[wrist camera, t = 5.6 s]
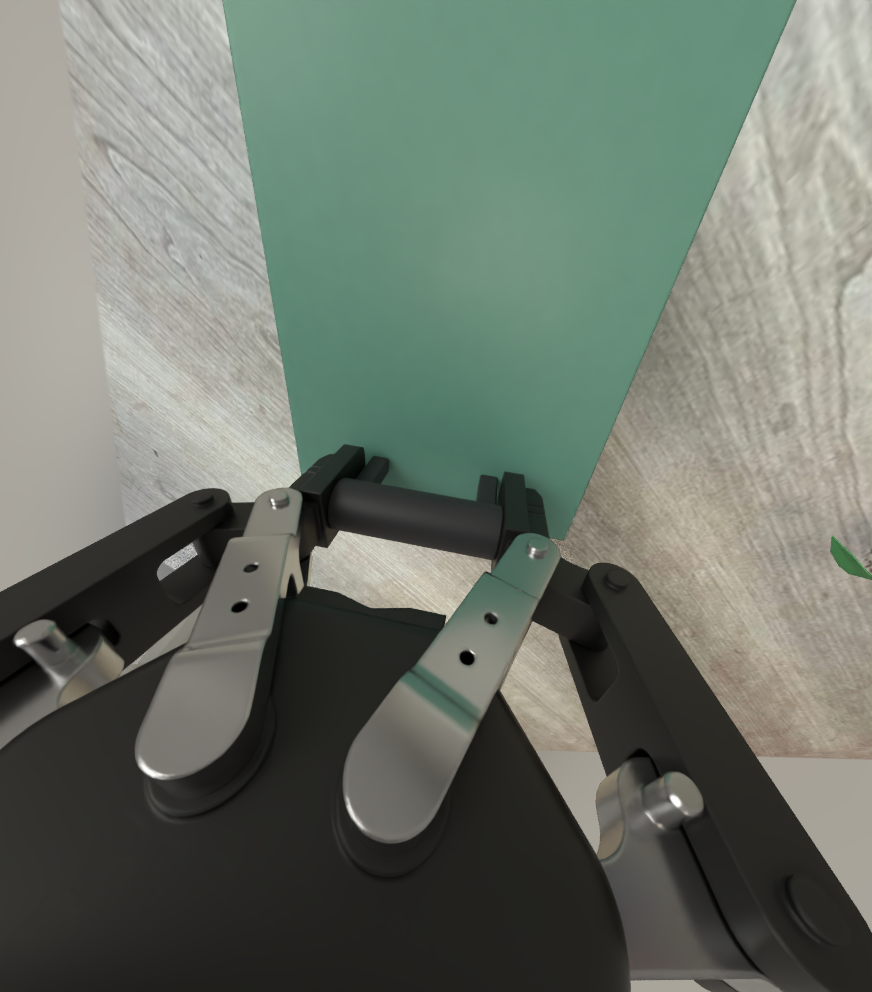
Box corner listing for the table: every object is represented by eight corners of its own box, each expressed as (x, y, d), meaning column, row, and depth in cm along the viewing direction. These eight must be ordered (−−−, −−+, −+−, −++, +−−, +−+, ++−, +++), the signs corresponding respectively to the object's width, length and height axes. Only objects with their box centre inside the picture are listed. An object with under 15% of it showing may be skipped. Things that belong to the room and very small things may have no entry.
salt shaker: (204, 557, 34) (68, 682, 24) (249, 558, 33) (127, 691, 22) (231, 594, 37) (122, 720, 27) (273, 596, 36) (176, 729, 25)
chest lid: (561, 529, 15) (582, 620, 11) (311, 484, 16) (247, 551, 12) (783, -6, 7) (1204, -441, 3) (237, -23, 8) (-46, -346, 4)
